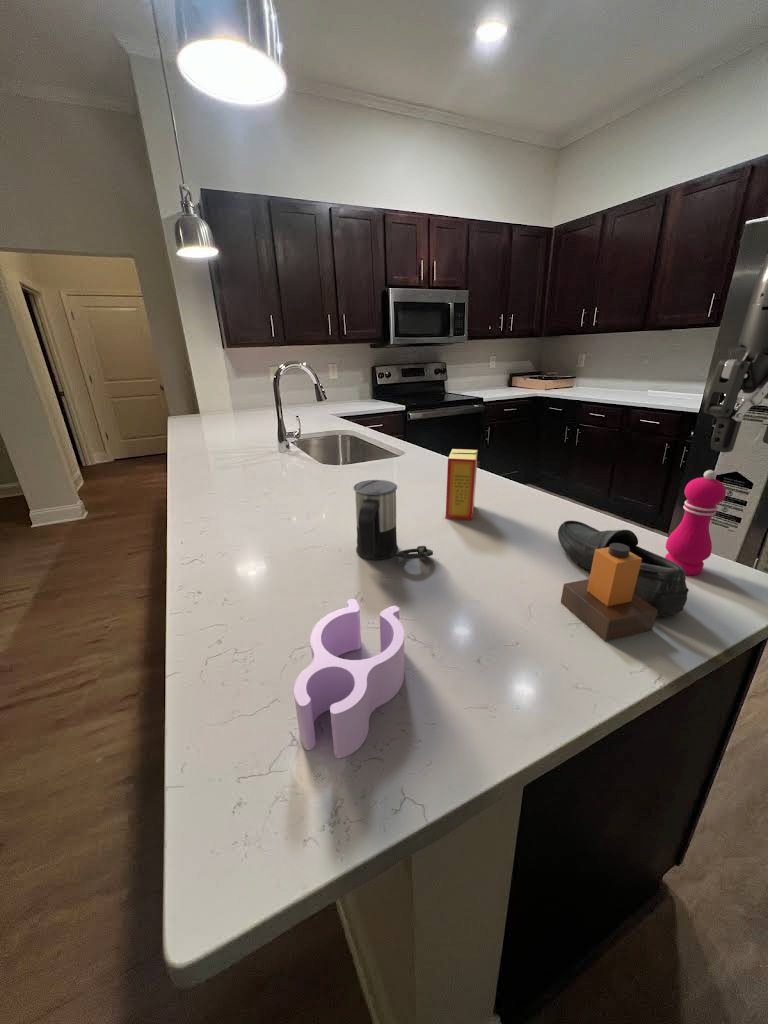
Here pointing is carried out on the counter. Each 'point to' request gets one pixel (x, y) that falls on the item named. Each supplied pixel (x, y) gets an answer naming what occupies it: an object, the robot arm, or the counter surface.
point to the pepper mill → (696, 524)
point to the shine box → (608, 612)
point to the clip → (348, 677)
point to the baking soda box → (461, 483)
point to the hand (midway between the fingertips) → (747, 447)
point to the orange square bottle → (614, 574)
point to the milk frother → (379, 522)
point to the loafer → (656, 575)
